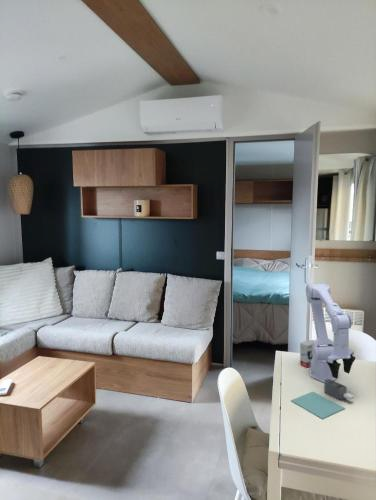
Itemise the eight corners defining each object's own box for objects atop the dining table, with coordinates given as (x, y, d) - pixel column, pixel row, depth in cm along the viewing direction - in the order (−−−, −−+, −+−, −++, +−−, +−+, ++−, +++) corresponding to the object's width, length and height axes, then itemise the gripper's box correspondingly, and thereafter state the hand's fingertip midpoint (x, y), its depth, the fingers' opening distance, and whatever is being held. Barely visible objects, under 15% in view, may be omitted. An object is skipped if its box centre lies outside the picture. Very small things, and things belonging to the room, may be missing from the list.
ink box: (306, 368, 180) (306, 345, 179) (299, 364, 184) (299, 342, 183) (320, 364, 183) (319, 342, 182) (313, 361, 188) (312, 339, 187)
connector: (322, 392, 157) (322, 380, 156) (328, 389, 159) (328, 378, 158) (348, 405, 145) (348, 393, 145) (355, 402, 147) (355, 390, 147)
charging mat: (290, 401, 150) (290, 400, 150) (312, 392, 157) (312, 391, 157) (322, 419, 136) (322, 418, 136) (345, 408, 143) (345, 407, 143)
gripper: (337, 350, 143) (337, 383, 144) (360, 342, 150) (360, 373, 151) (323, 345, 149) (323, 376, 150) (345, 337, 156) (345, 367, 157)
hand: (340, 374), depth 151 cm, fingers open, 7 cm apart
